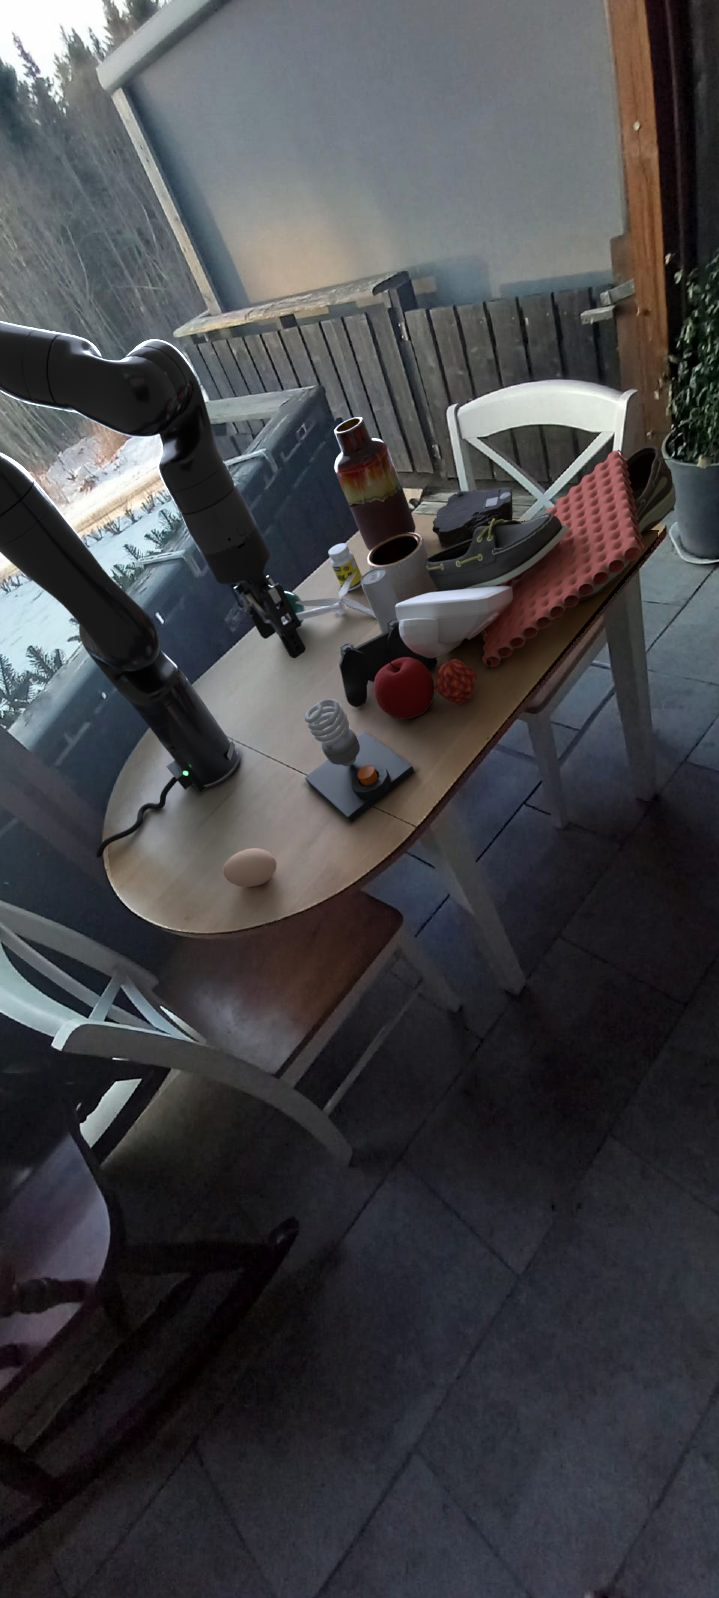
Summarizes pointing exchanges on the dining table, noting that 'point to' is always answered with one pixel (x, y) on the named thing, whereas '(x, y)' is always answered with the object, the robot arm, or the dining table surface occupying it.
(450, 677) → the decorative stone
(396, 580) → the planter
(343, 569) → the supplement bottle
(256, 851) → the egg
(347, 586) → the wind turbine
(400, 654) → the game controller
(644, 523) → the boat shoe
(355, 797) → the push button pad
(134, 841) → the dining table surface
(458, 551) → the boat shoe
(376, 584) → the beverage can
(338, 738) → the light bulb
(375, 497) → the vase
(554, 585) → the egg carton
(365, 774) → the button
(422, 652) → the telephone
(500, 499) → the rock sample
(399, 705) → the apple
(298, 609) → the sphere
